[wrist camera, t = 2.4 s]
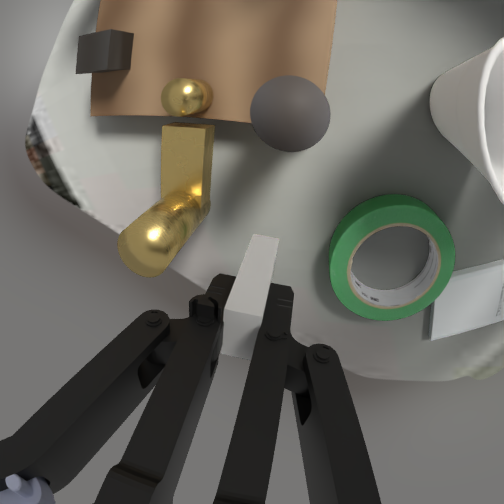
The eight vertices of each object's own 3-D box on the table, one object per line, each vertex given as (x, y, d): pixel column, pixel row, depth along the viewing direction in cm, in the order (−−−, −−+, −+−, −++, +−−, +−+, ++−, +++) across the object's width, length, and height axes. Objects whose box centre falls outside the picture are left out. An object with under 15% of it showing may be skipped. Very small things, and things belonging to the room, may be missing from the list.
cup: (518, 96, 14) (606, 118, 5) (476, 188, 20) (550, 253, 10) (430, 24, 14) (506, -9, 5) (385, 127, 19) (443, 159, 10)
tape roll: (302, 243, 26) (301, 259, 23) (408, 167, 21) (419, 176, 18) (368, 320, 28) (371, 338, 26) (460, 263, 23) (471, 279, 21)
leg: (176, 79, 18) (111, 79, 11) (220, 80, 17) (170, 76, 11) (171, 217, 23) (120, 270, 17) (209, 224, 23) (168, 282, 16)
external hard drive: (430, 272, 25) (525, 249, 21) (427, 332, 28) (513, 308, 25) (435, 282, 24) (533, 257, 20) (430, 342, 27) (519, 317, 23)
